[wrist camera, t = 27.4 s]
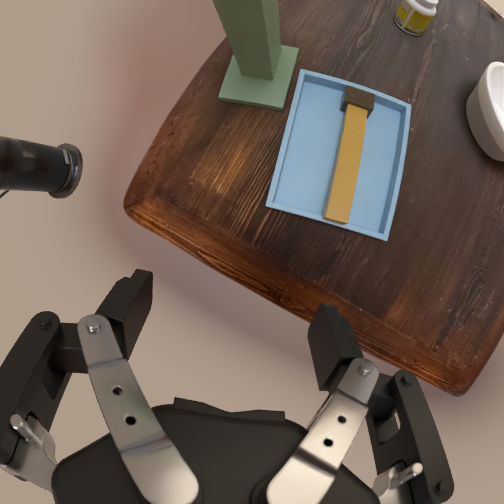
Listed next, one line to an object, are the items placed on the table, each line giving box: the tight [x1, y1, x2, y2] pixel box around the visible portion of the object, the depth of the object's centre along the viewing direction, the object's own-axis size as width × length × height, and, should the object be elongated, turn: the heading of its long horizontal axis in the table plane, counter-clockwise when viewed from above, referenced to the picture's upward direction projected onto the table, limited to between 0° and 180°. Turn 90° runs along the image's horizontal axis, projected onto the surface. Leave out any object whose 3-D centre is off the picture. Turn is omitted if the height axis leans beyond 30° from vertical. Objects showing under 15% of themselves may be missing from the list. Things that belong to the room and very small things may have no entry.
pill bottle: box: [395, 0, 438, 35], centre depth 25 cm, size 6×6×11 cm
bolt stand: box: [213, 0, 299, 112], centre depth 21 cm, size 10×12×32 cm
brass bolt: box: [322, 85, 375, 225], centre depth 33 cm, size 4×20×3 cm, turn 166°
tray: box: [266, 69, 411, 241], centre depth 35 cm, size 18×22×3 cm
